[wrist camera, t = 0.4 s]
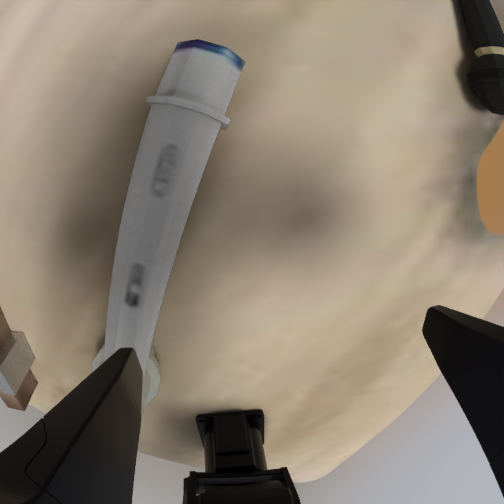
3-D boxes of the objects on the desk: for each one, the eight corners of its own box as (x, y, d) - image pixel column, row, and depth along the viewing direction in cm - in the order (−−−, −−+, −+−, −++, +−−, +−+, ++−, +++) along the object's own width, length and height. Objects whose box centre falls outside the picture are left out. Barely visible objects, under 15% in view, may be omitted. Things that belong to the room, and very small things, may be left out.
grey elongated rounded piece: (265, 57, 12) (149, 451, 17) (244, 90, 19) (155, 393, 24) (161, 28, 11) (79, 432, 16) (171, 68, 17) (98, 378, 22)
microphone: (404, -64, 13) (464, 116, 19) (415, -95, 8) (498, 109, 13) (451, -55, 12) (510, 120, 17) (468, -81, 6) (547, 117, 12)
